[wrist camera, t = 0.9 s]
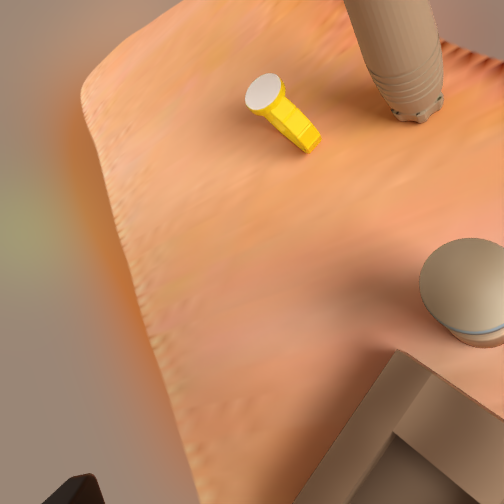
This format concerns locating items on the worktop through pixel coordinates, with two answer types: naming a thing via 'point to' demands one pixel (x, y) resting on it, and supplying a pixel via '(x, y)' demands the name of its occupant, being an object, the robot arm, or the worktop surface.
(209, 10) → the worktop surface
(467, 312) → the pin
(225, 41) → the worktop surface
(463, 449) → the bore block
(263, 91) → the yellow round part
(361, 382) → the worktop surface
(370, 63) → the handle
